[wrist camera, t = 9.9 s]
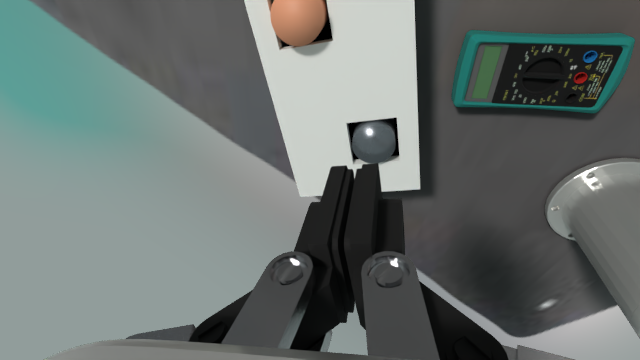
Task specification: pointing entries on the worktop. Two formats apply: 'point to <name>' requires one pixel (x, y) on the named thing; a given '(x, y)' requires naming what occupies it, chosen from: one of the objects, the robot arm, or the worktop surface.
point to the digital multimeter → (540, 70)
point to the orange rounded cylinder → (298, 20)
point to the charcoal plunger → (374, 140)
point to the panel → (344, 88)
